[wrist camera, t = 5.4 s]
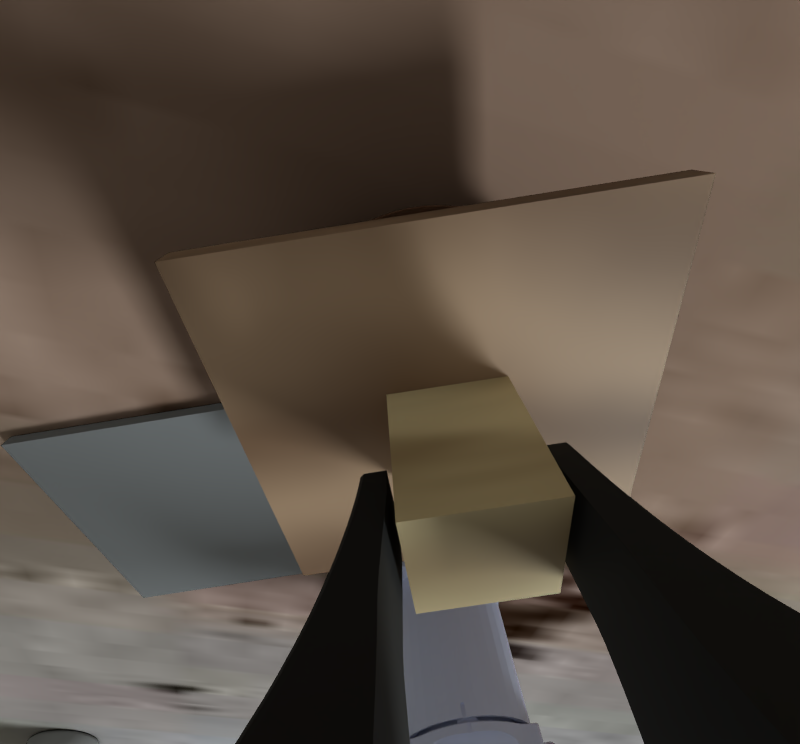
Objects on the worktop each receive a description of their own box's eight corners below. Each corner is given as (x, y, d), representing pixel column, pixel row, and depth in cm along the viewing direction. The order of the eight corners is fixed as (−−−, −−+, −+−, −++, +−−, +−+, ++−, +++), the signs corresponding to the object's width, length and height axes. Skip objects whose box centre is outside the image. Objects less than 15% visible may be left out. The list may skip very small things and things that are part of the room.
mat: (348, 558, 27) (348, 566, 26) (147, 588, 27) (143, 597, 27) (287, 392, 19) (285, 399, 19) (10, 436, 20) (0, 445, 19)
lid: (610, 512, 17) (698, 652, 12) (306, 557, 17) (284, 711, 12) (691, 169, 10) (962, 208, 5) (169, 252, 10) (8, 357, 5)
